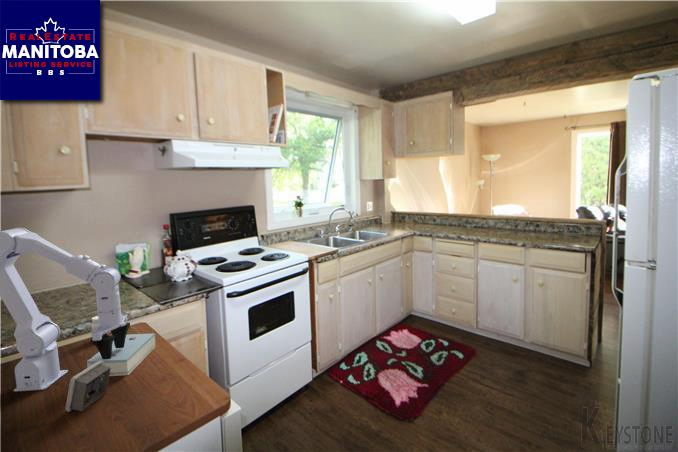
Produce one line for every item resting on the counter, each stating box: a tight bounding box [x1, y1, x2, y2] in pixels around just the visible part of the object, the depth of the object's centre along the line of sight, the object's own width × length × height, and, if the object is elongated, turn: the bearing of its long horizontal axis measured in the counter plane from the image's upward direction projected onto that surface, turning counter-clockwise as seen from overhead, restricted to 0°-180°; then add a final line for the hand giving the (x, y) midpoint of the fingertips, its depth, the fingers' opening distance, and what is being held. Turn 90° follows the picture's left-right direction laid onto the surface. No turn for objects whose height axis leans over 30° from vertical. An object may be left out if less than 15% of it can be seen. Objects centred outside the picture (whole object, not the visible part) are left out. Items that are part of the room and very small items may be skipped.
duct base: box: [86, 335, 157, 377], centre depth 108 cm, size 18×11×4 cm, turn 5°
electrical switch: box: [65, 360, 111, 413], centre depth 87 cm, size 9×5×9 cm, turn 174°
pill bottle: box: [90, 315, 109, 335], centre depth 124 cm, size 5×5×8 cm
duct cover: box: [86, 333, 156, 365], centre depth 108 cm, size 18×11×1 cm, turn 5°
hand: (113, 353), depth 102 cm, fingers open, 6 cm apart
